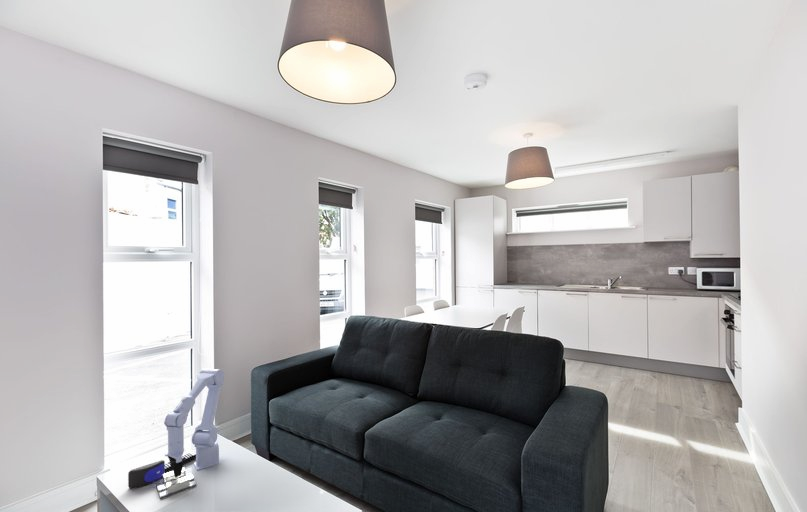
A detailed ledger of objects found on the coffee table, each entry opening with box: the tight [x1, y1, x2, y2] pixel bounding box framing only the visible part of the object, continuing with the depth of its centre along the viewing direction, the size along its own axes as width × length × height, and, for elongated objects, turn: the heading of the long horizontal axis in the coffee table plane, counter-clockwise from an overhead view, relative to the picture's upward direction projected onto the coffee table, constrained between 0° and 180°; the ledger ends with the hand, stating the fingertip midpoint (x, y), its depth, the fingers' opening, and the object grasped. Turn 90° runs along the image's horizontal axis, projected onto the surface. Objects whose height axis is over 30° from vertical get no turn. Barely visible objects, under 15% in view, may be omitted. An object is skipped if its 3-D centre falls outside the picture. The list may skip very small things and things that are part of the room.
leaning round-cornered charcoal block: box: [127, 459, 166, 489], centre depth 162 cm, size 13×4×8 cm, turn 133°
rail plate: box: [155, 466, 197, 500], centre depth 159 cm, size 13×12×5 cm
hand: (176, 472), depth 159 cm, fingers open, 6 cm apart
